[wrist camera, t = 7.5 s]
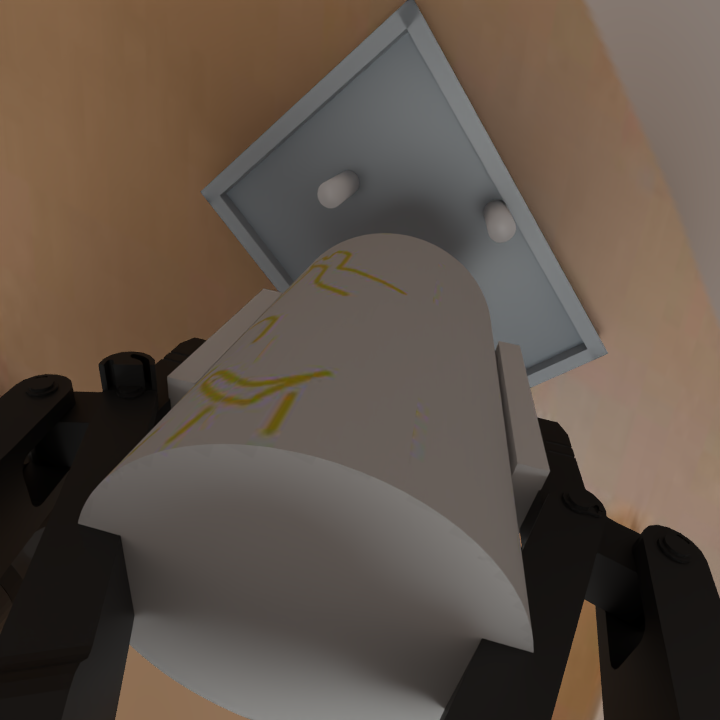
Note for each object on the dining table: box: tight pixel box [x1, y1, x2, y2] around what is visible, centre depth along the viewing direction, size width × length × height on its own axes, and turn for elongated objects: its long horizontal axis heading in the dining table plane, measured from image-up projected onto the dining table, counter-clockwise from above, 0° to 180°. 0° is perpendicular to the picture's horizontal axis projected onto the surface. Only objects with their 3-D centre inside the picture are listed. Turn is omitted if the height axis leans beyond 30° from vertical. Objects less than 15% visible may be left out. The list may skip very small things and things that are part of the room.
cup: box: [78, 233, 534, 720], centre depth 13 cm, size 8×8×12 cm
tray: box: [201, 0, 608, 388], centre depth 25 cm, size 20×14×5 cm
